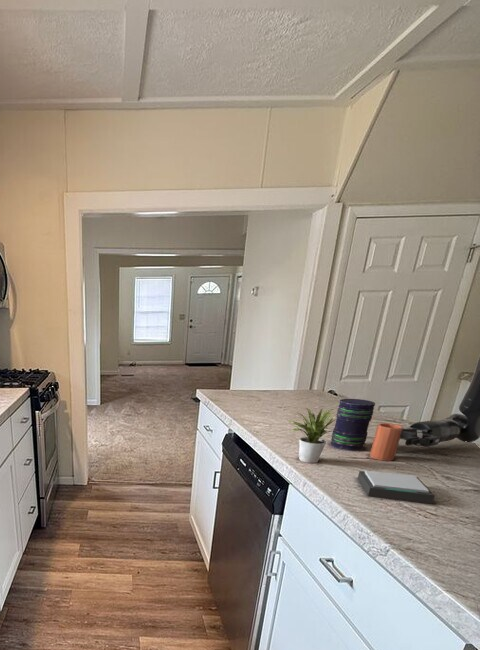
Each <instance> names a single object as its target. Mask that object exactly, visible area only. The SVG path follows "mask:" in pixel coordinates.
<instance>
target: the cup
mask: <svg viewBox="0 0 480 650" xmlns="http://www.w3.org/2000/svg"><path fill="white" fill-rule="evenodd" d="M403 428H404V426H402V425H400V424H396V423H388V422H387V423H386V422H382V423H381V422H380V423H378V424H377V426H376V429H375V434H374V436H373V441H372V444H371V449H370V452H369V457H370V458H372V459H375V460H378V461H385V462H389V461H390V462H391V461H394V460H395V457H396V454H397V450H398V448H399V443H400V440H401V439H400V437H401V434H402V430H403Z"/></svg>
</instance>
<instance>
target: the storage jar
mask: <svg viewBox="0 0 480 650" xmlns="http://www.w3.org/2000/svg"><path fill="white" fill-rule="evenodd" d="M375 405H376V402H375V401H372V400H366V399H360V398H343V399H339V404H338V407H337V410H336V411H337V412H336V414H335V418H336V419H337V420H336V419H335V425H334V428H332V429H333V430H332V433H331V438H330V439H331V441H330V442H329V445H330V447H333V448H335V449H339V450H342V451H351V452H358V451H363V450H364V448H365V446H364V445H365V444H366V442H367V437H368V430H369V425H370V422H371V421H372V417H373V415H374V409H375ZM336 431H338V432H336Z"/></svg>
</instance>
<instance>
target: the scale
mask: <svg viewBox="0 0 480 650" xmlns="http://www.w3.org/2000/svg"><path fill="white" fill-rule="evenodd" d="M357 480H358V482H359V484H360V485H361V487H362V489H363V490H364V492H365V493H366V496H367V497H374V498H381V499H388V500H389V499H391V500H398V501H406V502H412V503H413V502H414V503H420V504H421V503H422V504H430V505H433V503H434V500H435V497H436V494H435V493H433V491H432V490H431V489H430V488H428V486H427V485H426V484H425V483H424V482H423V481H422V480H421V479H420V478H419V477H418V476H416V475H411V474H402V473H392V472H381V471H372V470H359V471H358V475H357Z"/></svg>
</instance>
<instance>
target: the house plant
mask: <svg viewBox="0 0 480 650" xmlns="http://www.w3.org/2000/svg"><path fill="white" fill-rule="evenodd" d="M304 408H305V409H306V410H307V413H308V418H309V419H308V418H306V416H304V415H303V414H301V413H300V412H298V411H294V410H293V411H292V412H293V413H296V414H295V415H296V416H300V417H301V418H302V419H303V423H304V424H303V423H301V422H297V421H293V420H288V423H292V426H294V427H295V426H296V428H293V429H291V433H294V432H297V431H300V432H301V433H303V434H304V435H305V436H303V437H300V438H299V439H298V440H299V442H298V444H299V445H298V447H299V449H298V460H299V461H300V462H304V463H308V464H316V463H318V462H319V459H320V457H321V455H322V453H323V450H324V448H325V446H326V444H327V441H326V440H325V439H322V437H324V435H326V434H327V433H330V432H332V430H329V431H328V430H325V429H328V426H329V425H331V424H332V423H333V422H336V420H337V418H336V419H335V416H334V417H333V415H334V412H332V411H335V408H334V409H329V410H326V411H324V412H323V408H321V409H320V410H319V412H318V414H317V415H316V416H315V413H314V412H312V411H311V410H310V409H309V408H308V407H306V406H304ZM331 417H332V418H331ZM336 432H338V431H336Z"/></svg>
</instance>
